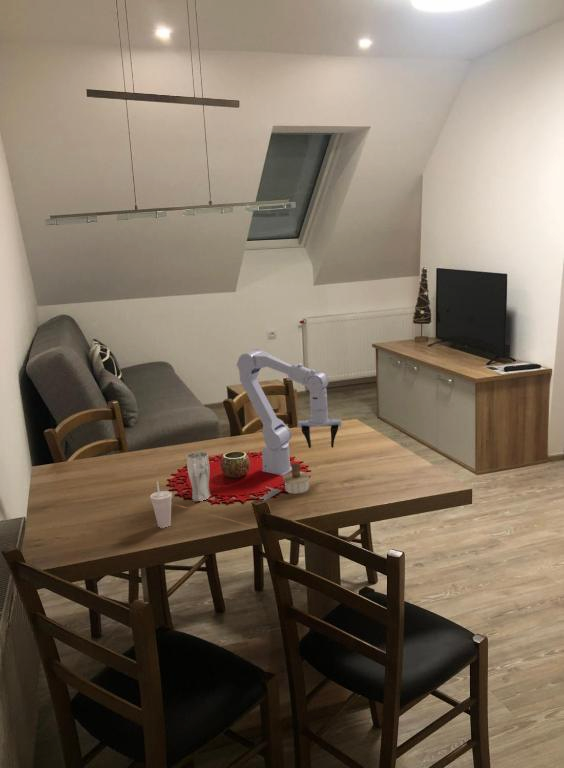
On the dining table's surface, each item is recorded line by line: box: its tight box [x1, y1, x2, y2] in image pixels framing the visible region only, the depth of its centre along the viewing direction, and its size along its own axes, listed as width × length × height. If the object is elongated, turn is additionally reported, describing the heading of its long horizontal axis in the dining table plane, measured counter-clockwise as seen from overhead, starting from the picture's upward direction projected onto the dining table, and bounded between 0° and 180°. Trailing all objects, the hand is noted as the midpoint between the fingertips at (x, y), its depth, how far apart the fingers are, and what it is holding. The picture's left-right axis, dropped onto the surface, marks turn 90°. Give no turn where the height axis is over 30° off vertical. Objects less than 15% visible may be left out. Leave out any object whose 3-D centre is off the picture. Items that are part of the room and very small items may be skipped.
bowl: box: [284, 480, 310, 495], centre depth 208 cm, size 8×8×4 cm
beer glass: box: [186, 451, 212, 502], centre depth 205 cm, size 7×7×15 cm
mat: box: [255, 486, 283, 502], centre depth 207 cm, size 9×9×1 cm
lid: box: [282, 462, 310, 484], centre depth 207 cm, size 9×9×5 cm
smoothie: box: [149, 480, 173, 529], centre depth 187 cm, size 6×6×14 cm
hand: (321, 446), depth 217 cm, fingers open, 7 cm apart
